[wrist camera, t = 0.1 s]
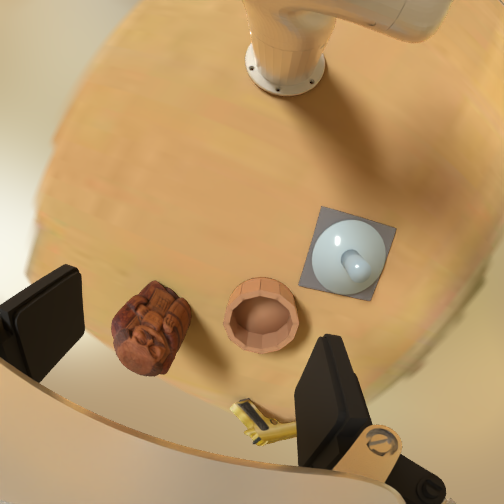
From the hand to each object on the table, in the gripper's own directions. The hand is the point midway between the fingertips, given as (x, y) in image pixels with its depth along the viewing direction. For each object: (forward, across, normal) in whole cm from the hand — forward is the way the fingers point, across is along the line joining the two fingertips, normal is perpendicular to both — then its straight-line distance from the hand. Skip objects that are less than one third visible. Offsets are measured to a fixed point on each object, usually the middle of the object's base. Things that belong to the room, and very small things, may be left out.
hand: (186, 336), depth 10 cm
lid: (+36, -18, +5) cm, 41 cm away
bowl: (+37, -6, +18) cm, 41 cm away
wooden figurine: (+37, +11, +22) cm, 44 cm away
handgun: (+37, -16, +45) cm, 61 cm away
